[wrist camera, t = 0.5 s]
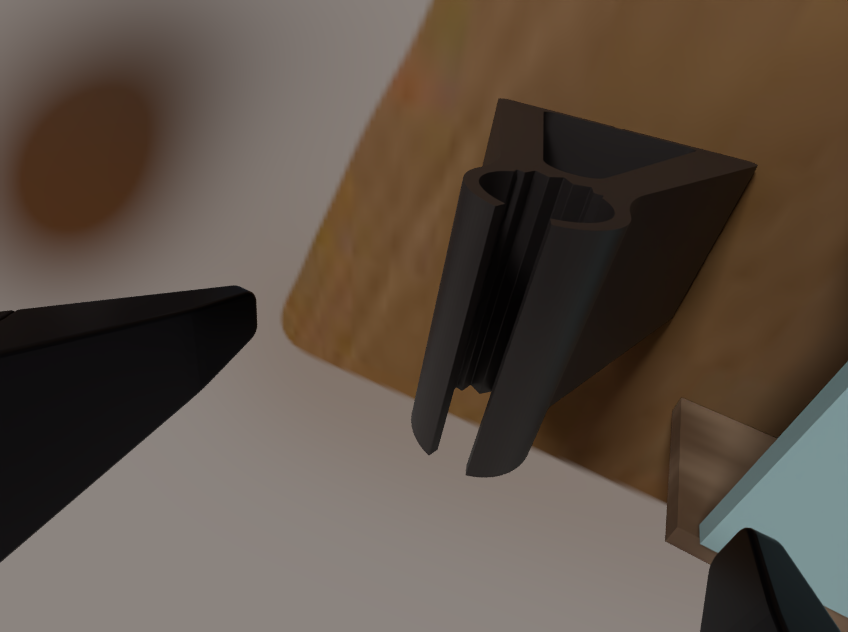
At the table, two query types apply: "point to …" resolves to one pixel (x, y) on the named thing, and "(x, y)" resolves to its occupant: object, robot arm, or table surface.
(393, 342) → the table surface
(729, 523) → the trapdoor
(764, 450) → the trapdoor frame
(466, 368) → the phone stand
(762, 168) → the table surface
